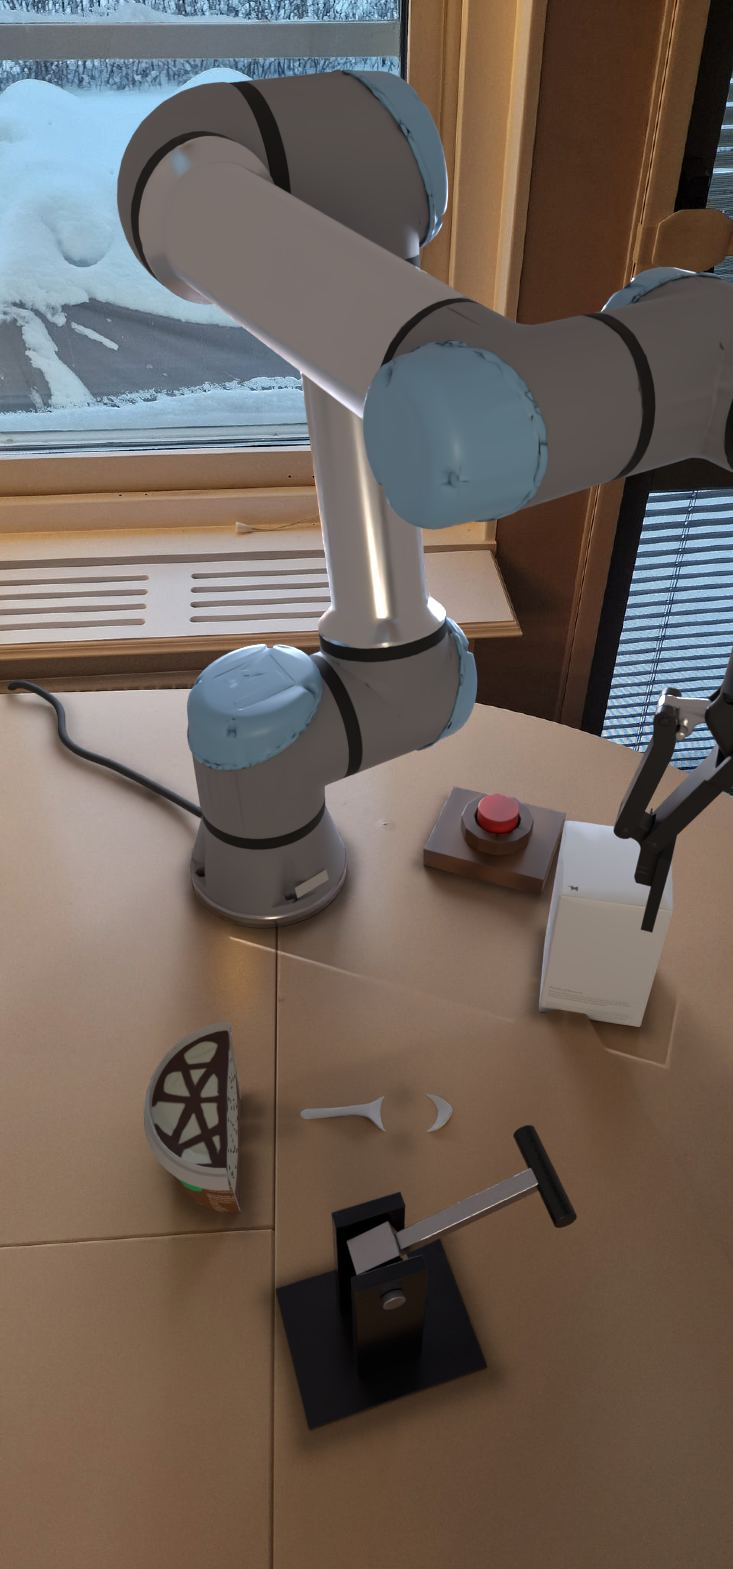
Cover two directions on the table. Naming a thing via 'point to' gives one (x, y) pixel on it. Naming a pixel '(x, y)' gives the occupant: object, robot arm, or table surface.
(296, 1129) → the table surface
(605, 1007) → the rectangular carton
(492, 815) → the button
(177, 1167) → the food container
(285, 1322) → the bracket
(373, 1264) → the lever
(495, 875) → the button block
